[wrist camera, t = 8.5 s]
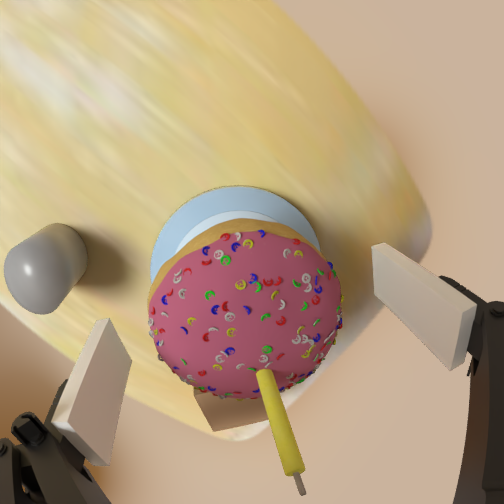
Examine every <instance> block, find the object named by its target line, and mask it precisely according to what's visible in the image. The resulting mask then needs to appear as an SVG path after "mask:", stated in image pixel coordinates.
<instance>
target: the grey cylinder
mask: <svg viewBox="0 0 504 504" xmlns="http://www.w3.org/2000/svg"><path fill="white" fill-rule="evenodd" d="M87 263H88V255H87V250H86V246H85V244H84V242H83V240H82V238H81V237H80V236H79V234H78V233H77V232H76V231H75V230H73V229H72V228H71V227H69V226H67V225H64V224H59V223H55V224H51V225H48V226H46V227H45V228H43V229H41V230H40V231H38V232H37V233H35V234H33V235H32V236H30V237H29V238H27V239H26V240H24V241H23V242H21V243H20V244H18V245H17V246H15V247H14V248H12V249H11V250H10V252H9V253H8V255H7V257H6V259H5V263H4V276H5V281H6V284H7V287H8V289H9V291H10V293H11V294H12V296H13V297H14V299H15V300H16V301H17V302H18V303H19V304H20V305H21V306H22V307H23V308H25V309H26V310H28V311H30V312H32V313H35V314H48V313H51V312H53V311H54V310H55V309H57V307H58V306H59V305H60V303H61V302H62V301H63V300H64V298H65V297H66V296H67V294H68V293H69V292H70V291H71V289H72V288H73V287H74V286H75V284H76V283H77V282H78V281H79V279H80V278H81V277H82V276H83V274H84V273H85V270H86V268H87Z"/></svg>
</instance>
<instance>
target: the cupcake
mask: <svg viewBox="0 0 504 504" xmlns="http://www.w3.org/2000/svg"><path fill="white" fill-rule="evenodd" d="M330 265H331V266H330ZM341 297H342V298H341ZM341 299H342V301H341ZM343 300H344V296H343V295H341V290H340V283H339V280H338V277H337V275H336V272H335V271H334V270H333V265H332V263H331V262H327V260H326V259H325V257H324V256H323V254H322V253H321V252H320V251H319V250H318V249H317V248H316V247H315V246H314V245H313V244H312V243H310V242H309V241H308V240H307V239H306V238H304V237H303V236H302V235H301V234H299V233H298V232H296V231H295V230H294V229H292V228H290V227H289V226H287V225H284V224H281V223H276V222H268V221H263V220H257V219H250V218H237V219H232V220H228V221H225V222H222V223H219V224H216V225H214V226H212V227H210V228H209V229H207V230H205V231H204V232H202V233H200V234H199V235H197V236H196V237H194V238H193V239H192V240H190V241H189V242H188V243H187V244H186V245H185V246H184V247H183V248H182V249H181V250H179V251H178V252H177V253H176V254H175V255H174V256H173V257H172V258H170V259H169V260H167V261H166V262H165V263H164V264H163V265H162V266H161V268H160V269H159V271H158V273H157V275H156V277H155V279H154V281H153V283H152V286H151V289H150V292H149V296H148V314H149V321H148V324H149V326H150V328H151V330H150V331H149V335H150V336H151V337H152V338H153V339H154V343H155V346H156V349H157V351H158V353H159V354H158V359H159V360H160V361H165V362H166V364H167V365H168V366H169V367H170V368H171V370H172V372H173V373H176V374H177V375H178V376H179V377H180V379H181V381H183V382H186V383H187V384H188V385H189V384H190V385H192V386H194V389H196V390H200V391H201V392H203V393H206V392H207V391H208V392H211V393H212V395H214V396H219V397H220V398H221V399H225V398H227V397H229V398H236V400H237V401H242V400H244V399H245V398H246V399H249V398H251V399H256V398H258V397H262V398H263V402H264V405H265V409H266V412H267V415H268V419H269V422H270V426H271V429H272V433H273V436H274V439H275V443H276V446H277V449H278V453H279V456H280V459H281V462H282V466H283V469H284V472H285V475H286V476H294V479H295V482H296V485H297V488H298V491H299V493H300V495H301V496H303V495H306V491H305V488H304V485H303V482H302V479H301V476H300V474H301V473H303V472H304V471H305V466H304V463H303V461H302V457H301V454H300V452H299V449H298V446H297V443H296V440H295V437H294V434H293V432H292V428H291V425H290V422H289V420H288V417H287V414H286V411H285V408H284V405H283V402H282V399H281V396H280V393H281V392H284V391H285V389H290V387H291V386H294V385H296V384H297V383H301V382H303V381H304V380H305V379H306V378H307V377H308V376H310V375H311V374H313V373H315V371H316V369H317V368H319V365H320V364H321V361H322V360H325V358H324V357H325V356H326V354H327V353H328V351H329V349H330V347H331V345H332V344H333V345H335V344H336V340H335V337H336V336H337V329H341V328H342V318H341V315H342V313H343V312H341V303H342V302H343ZM340 325H341V326H340ZM151 332H152V333H151ZM151 334H152V335H151ZM160 356H161V357H160ZM160 358H161V359H160ZM323 358H324V359H323ZM313 371H314V372H313ZM197 388H198V389H197ZM202 390H204V391H202ZM282 390H283V391H282ZM215 394H217V395H215ZM239 399H241V400H239Z"/></svg>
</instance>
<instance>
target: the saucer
mask: <svg viewBox="0 0 504 504" xmlns="http://www.w3.org/2000/svg"><path fill="white" fill-rule="evenodd" d="M237 218H250V219H257V220H263V221H268V222H276V223H281V224H284V225H287V226H289V227H290V228H292V229H294V230H295V231H296V232H298V233H299V234H301V235H302V236H303V237H304V238H306V239H307V240H308V241H309V242H310V243H312V244H313V245H314V246H315V247H316V248H317V249H318V250H319V251H320V246H319V242H318V240H317V237H316V234H315V232H314V230H313V229H312V227H311V225H310V223H309V222H308V221H307V219H306V218H305V217H304V216H303V215H302V214H301V213H300V212H299V211H298V210H297V209H296V208H295V207H294V206H293V205H291V204H290V203H288V202H287V201H286V200H284V199H283V198H281V197H280V196H278V195H276V194H274V193H272V192H269V191H266V190H264V189H261V188H256V187H251V186H241V185H235V186H224V187H219V188H214V189H211V190H208V191H206V192H203V193H201V194H199V195H197V196H195V197H193V198H191V199H190V200H189V201H187V202H186V203H184V204H183V205H182V206H181V207H179V208H178V209H177V210H176V211H175V212H174V213H173V214H172V216H171V217H170V218H169V219H168V221H167V222H166V224H165V225H164V227H163V229H162V230H161V232H160V234H159V237H158V239H157V241H156V244H155V246H154V250H153V253H152V258H151V267H150V270H151V282H152V283H153V281H154V279H155V277H156V275H157V273H158V271H159V269H160V268H161V266H162V265H163V264H164V263H165V262H166V261H167V260H169V259H170V258H172V257H173V256H174V255H175V254H176V253H177V252H178V251H179V250H181V249H182V248H183V247H184V246H185V245H186V244H187V243H188V242H189V241H190V240H192V239H193V238H194V237H196V236H197V235H199V234H200V233H202V232H204V231H205V230H207V229H209V228H210V227H212V226H214V225H216V224H219V223H222V222H225V221H228V220H232V219H237ZM320 252H321V251H320Z"/></svg>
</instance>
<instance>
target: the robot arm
mask: <svg viewBox="0 0 504 504" xmlns="http://www.w3.org/2000/svg"><path fill="white" fill-rule="evenodd" d="M371 248H372V263H373V280H374V295H375V296H376V297H377V298H379V299H380V300H381V301H382V302H383V303H384V304H385V305H386V306H387V307H388V308H389V309H390V310H391V311H392V312H393V313H394V314H395V315H396V316H397V317H398V318H399V319H400V320H401V321H402V322H403V323H404V324H405V325H406V326H407V327H408V328H409V329H410V330H411V331H412V332H413V333H414V334H415V335H416V336H417V337H418V338H419V339H420V340H421V341H422V342H423V343H424V344H425V345H426V346H427V347H428V348H429V350H430V351H431V352H432V353H433V354H434V355H435V356H436V357H437V358H438V359H439V360H440V361H441V362H442V363H443V364H444V365H445V366H446V367H447V368H448V369H449V371H451V370H453V369H454V368H456V367H457V366H459V365H461V364H463V363H464V360H465V357H466V353H467V351H468V352H469V353H470V354H471V355H472V360H471V363H470V366H469V370H468V373H467V376H469V374H470V372H471V377H470V378H471V380H470V400H469V413H468V424H467V432H466V440H465V447H464V453H463V459H462V465H461V470H460V475H459V480H458V485H457V489H456V493H455V497H454V501H453V504H504V302H499V301H493V302H489V303H486V302H485V301H484V300H482V299H481V298H480V297H478V296H477V295H475V294H474V293H472V292H471V291H469V290H466V288H465V287H464V286H462V285H460V284H459V283H457V282H456V281H455V280H453V279H451V278H448V277H445V276H439V277H437V276H436V275H434V274H433V273H431V272H430V271H428V270H427V269H425V268H424V267H422V266H421V265H419V264H418V263H416V262H415V261H413V260H411V259H410V258H408V257H407V256H405V255H404V254H402V253H401V252H399V251H397V250H396V249H394V248H393V247H391V246H389V245H388V244H386V243H385V242H384V243H380V244H377V245H374V246H371ZM131 363H132V360H131V358H130V356H129V354H128V353H127V351H126V349H125V347H124V345H123V343H122V342H121V340H120V338H119V336H118V334H117V332H116V330H115V328H114V326H113V324H112V322H111V320H110V318H106V319H102V320H98V321H96V323H95V325H94V327H93V329H92V331H91V333H90V335H89V337H88V339H87V341H86V343H85V345H84V347H83V349H82V351H81V353H80V355H79V358H78V360H77V362H76V364H75V366H74V368H73V371H72V373H71V375H70V377H69V379H66V380H65V381H64V382H63V384H62V385H61V386H60V387H59V389H58V391H57V394H56V396H55V397H56V398H54V401H53V405H51V408H50V410H49V412H48V415H47V417H46V420H45V422H44V425H43V424H42V422H41V421H40V420H39V419H38V418H37V417H36V415H35V414H34V413H32V412H25V413H23V414H21V415H19V416H18V417H17V418H16V419H15V421H14V422H13V424H12V427H11V433H12V434H13V435H14V436H15V437H16V438H17V439H18V440H19V441H20V442H21V443H22V444H20V445H16V446H15V445H14V444H13V443H12V442H11V441H10V440H9V439H7V438H2V439H0V504H111V502H110V501H109V500H108V498H107V497H106V496H105V494H104V493H103V491H102V490H101V488H100V487H99V485H98V484H97V483H96V481H95V480H94V478H93V476H92V475H91V473H90V472H89V470H88V469H87V468H86V467H85V466H84V465H83V464H84V460H85V458H86V459H87V460H88V461H89V462H90V463H91V464H92V465H94V466H110V460H111V454H112V448H113V443H114V438H115V433H116V428H117V423H118V418H119V414H120V409H121V404H122V400H123V396H124V391H125V387H126V383H127V379H128V375H129V371H130V367H131ZM22 485H23V486H24V487H25V492H24V491H23V488H22Z"/></svg>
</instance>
